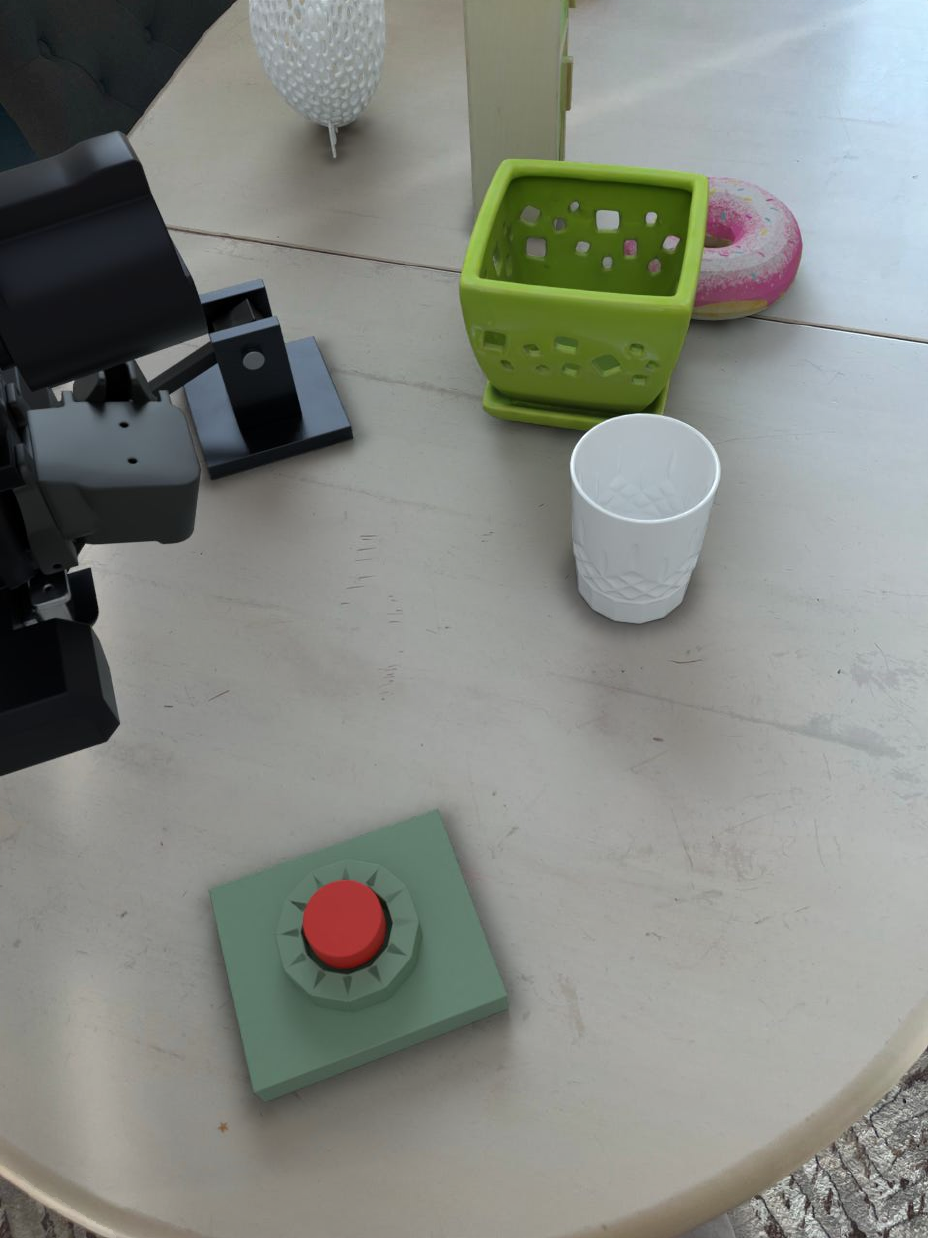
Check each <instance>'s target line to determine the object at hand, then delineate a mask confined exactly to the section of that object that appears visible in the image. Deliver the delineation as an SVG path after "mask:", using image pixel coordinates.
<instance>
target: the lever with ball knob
mask: <svg viewBox="0 0 928 1238" xmlns="http://www.w3.org/2000/svg"><path fill="white" fill-rule="evenodd" d="M262 319H264V318H263V316H262V315H261V314H260V313H259V312H258V311H257V309H256V308H255V307H254V306H253V305H252V304H251V302H250V301H249V300H248V299H246V300H244V301H243V302H241V303H240V304H238V305H237V306H235V307H234V308H232V309H231V310H229V311H228V312H226V313H225V314H223V315H222V316H220V317H219V318H217V319H216V320H214V321H213V322H212V323H213V326H214V329H215V332H217V331H221V330H225V329H228V328H232V327H236V326H239V325H243V324H247V323H251V322H254V321H258V320H262ZM217 363H218V362H217V359H216V356H215V353H214V350H213V347H212V344H211V341H210V340H209V341H208V342H206V343H205V344H203V345H202V346H199V348H197V349H196V350H195V351H193V352H191V353H189V354H188V355H186V356H185V357H184V358H182V359H181V360H179V361H178V362H176V363H174V364H173V365H171V366H170V367H169V368H167V369H166V370H164V371H163V372H161V373H160V374H158V375H157V376H155V377H153V378H152V379H151V380H149V381H147V382H148V384H149V388H150V391H151V392H152V394H153V395H154V396H155V397H156V398H158V391H159V390H168V391H169V395H170V396H171V395H172V394H174V393H175V392H176V391H178V390H179V389H181V388H183V386H184V385H185V384H187V383H188V382H190V381H191V380H193V379H194V378H196V377H197V376H199V375H200V374H202V373H203V372H205V371H206V370H208V369H209V368H211V367H213V366H214V365H216V364H217ZM130 400H131V399H130Z"/></svg>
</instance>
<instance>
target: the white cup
mask: <svg viewBox="0 0 928 1238" xmlns="http://www.w3.org/2000/svg"><path fill="white" fill-rule="evenodd" d="M569 463H570V464H569V472H570V508H571V511H570V512H571V533H572V534H571V535H572V543H573V544H572V547H573V549H572V550H573V556H574V558H575V574H576V582H577V588H578V589H577V590H578V593H579V594H580V596H582V598H583V600H584V601H585V602H586V603H587V604H588V606H589V607H590V608H591V610H592V611H594V612H596V613H598V614H599V615H601V616H604V617H606V618H608V619H610V620H612V621H614V622H621V623H629V624H638V625H641V624H645V623H647V622H652V621H656V620H659V619H662V618H665V617H667V616H668V615H669V614H670V613H671V612H673V611H674V610H675V609H676V608H677V607H678V606H679V605H681V604H682V602H683V600H684V597H685V595H686V592H687V589H688V588H689V584H690V581H691V577H692V574H693V573H692V572H693V571H694V569H695V568H696V565H697V562H698V558H699V555H700V554H701V550H702V547H703V542H704V540H705V537H706V536H705V535H706V532H707V528H708V525H709V522H710V517H711V513H712V510H713V506H714V502H715V498H716V495H717V491H718V488H719V485H720V481H721V474H722V472H721V471H722V467H721V461H720V458H719V455H718V453H717V451H716V449H715V448H714V446H713V444H712V443H711V442H710V440H709V439H708V438H707V437H706V435H704V434H703V433H702V432H700V431H699V430H697V428H695V427H693V426H691V425H689V424H688V423H686V422H683V421H681V420H679V419H676V418H673V417H670V416H667V415H663V416H662V415H656V414H629V415H623V416H618V417H615V418H612V419H609V420H606V421H604V422H602V423H600V424H598V425H596V426H595V427H593V428H592V429H590V430H589V431H586V433H585V434H583V436H581V437H580V438H579V440H578V442H577V443H576V445H575V447H574V449H573V451H572V453H571V457H570V462H569Z"/></svg>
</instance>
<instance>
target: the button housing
mask: <svg viewBox="0 0 928 1238" xmlns="http://www.w3.org/2000/svg"><path fill="white" fill-rule="evenodd" d="M339 880H353V881H357V882H360V883H362V884H364V885H366V886H367V887H369V888H370V889H371V890H372V891H373V892H374V893H375V895H376V896H377V898H378V900H379V902H380V905H381V907H382V910H383V913H384V916H385V920H386V934H385V938H384V941H383V944H382V946H381V948H380V949H379V951H378V952H377V953H376V955H375V956H374V957H373V958H371V959H370V960H369V961H368V962H366V963H364V964H362V965H360V966H358V967H354V968H349V969H341V968H335V967H332V966H329V965H327V964H325V963H324V962H323V961H321V960H320V959H319V958H318V957H317V956H316V954H315V953H314V951H313V949H312V948H311V946H310V944H309V942H308V940H307V938H306V936H305V933H304V929H303V915H304V911H305V908H306V906H307V904H308V902H309V900H310V899H311V897H312V896H313V895H314V894H315V893H316V892H317V891H318V890H319V889H320V888H322V887H323V886H325V885H327V884H329V883H331V882H334V881H339ZM208 895H209V898H210V903H211V907H212V912H213V917H214V921H215V925H216V929H217V934H218V939H219V942H220V948H221V952H222V956H223V957H222V958H223V962H224V965H225V970H226V975H227V979H228V984H229V988H230V993H231V997H232V1002H233V1006H234V1007H233V1008H234V1011H235V1015H236V1020H237V1024H238V1029H239V1033H240V1038H241V1042H242V1046H243V1052H244V1057H245V1060H246V1061H245V1062H246V1065H247V1070H248V1075H249V1080H250V1083H251V1087H252V1092H253V1093H254V1094H255V1095H256V1096H257V1097H258V1098H259V1099H260V1100H261V1101H262V1102H263V1103H267V1102H271V1101H273V1100H275V1099H277V1098H280V1097H283V1096H285V1095H287V1094H291V1093H292V1092H295V1091H299V1090H300V1089H303V1088H306V1087H308V1086H311V1085H314V1084H316V1083H319V1082H322V1081H325V1080H327V1079H330V1078H332V1077H334V1076H335V1077H336V1076H337V1075H339V1074H340V1075H341V1074H342V1073H345V1072H348V1071H350V1070H352V1069H355V1068H358V1067H360V1066H363V1065H365V1064H368V1063H371V1062H374V1061H376V1060H379V1059H382V1058H384V1057H387V1056H389V1055H391V1054H394V1053H397V1052H399V1051H402V1050H404V1049H407V1048H410V1047H413V1046H416V1045H417V1044H420V1043H423V1042H426V1041H428V1040H431V1039H434V1038H436V1037H439V1036H441V1035H444V1034H446V1033H448V1032H451V1031H454V1030H456V1029H459V1028H462V1027H464V1026H467V1025H470V1024H472V1023H475V1022H477V1021H481V1020H483V1019H485V1018H488V1017H490V1016H493V1015H496V1014H498V1013H501V1012H503V1011H506V1010H508V1009H509V1001H508V1000H509V999H508V993H507V990H506V988H505V984H504V982H503V980H502V979H503V978H502V977H501V974H500V971H499V968H498V966H497V963H496V961H495V957H494V955H493V952H492V949H491V948H490V944H489V942H488V939H487V937H486V934H485V931H484V928H483V926H482V923H481V920H480V918H479V915H478V913H477V909H476V907H475V904H474V902H473V898H472V896H471V894H470V891H469V888H468V886H467V882H466V880H465V877H464V875H463V872H462V870H461V867H460V865H459V861H458V859H457V856H456V853H455V850H454V847H453V845H452V842H451V840H450V837H449V835H448V831H447V828H446V826H445V824H444V821H443V818H442V815H441V813H440V810H439V809H438V808H435V809H432V810H429V811H427V812H423V813H421V814H420V813H419V814H418V815H415V816H412V817H409V818H407V819H404V820H401V821H398V822H395V823H393V824H389V825H387V826H383V827H381V828H379V829H378V828H377V829H374V830H372V831H369V832H367V833H364V834H360V835H358V836H355V837H353V838H349V839H346V840H344V841H341V842H338V843H336V844H335V843H334V844H333V845H329V846H327V847H324V848H321V849H318V850H316V851H312V852H310V853H307V854H304V855H302V856H299V857H298V856H297V857H295V858H292V859H290V860H286V861H284V862H281V863H278V864H276V865H273V866H270V867H267V868H264V869H260V870H259V871H256V872H253V873H249V874H247V875H244V876H241V877H238V878H235V879H233V880H229V881H227V882H224V883H222V884H219V885H216V886H213V887H210V888H208Z"/></svg>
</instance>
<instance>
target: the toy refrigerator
mask: <svg viewBox="0 0 928 1238" xmlns="http://www.w3.org/2000/svg"><path fill="white" fill-rule="evenodd" d="M577 5H578V0H462V10H463V12H462V13H463V30H464V32H463V33H464V34H463V35H464V50H465V51H464V53H465V73H466V91H467V93H466V94H467V111H468V128H469V129H468V132H469V151H470V152H469V153H470V171H471V172H470V173H471V191H472V193H471V194H472V211H473V212H472V213H473V214H472V215H473V226H474V225H475V222H476V220H477V217H478V214H479V212H480V209H481V206H482V204H483V201H484V198H485V196H486V193H487V191H488V189H489V186H490V184H491V182H492V179H493V177H494V175H495V173H496V171H497V169H498V168H499V166H500V164H501V163H502V162H503V161H504V160H507V159H537V160H553V161H566V131H567V130H566V129H567V112H569V111H571V109H572V97H573V76H574V75H573V73H574V56H572V55H569V38H570V37H569V35H570V34H569V32H570V9H576V8H577V7H578V6H577ZM539 214H540V210H538V209H536V208H534V207H532V206H526V207H525V209H524V210H523V212H522V214H521V216H520V218H521V219H523V220H525V221H528V222H531V223H533V222H535V221H536V219H537V218H538V216H539ZM557 223H558V219H556V220H554V226H555V229H556V230H557Z"/></svg>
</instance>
